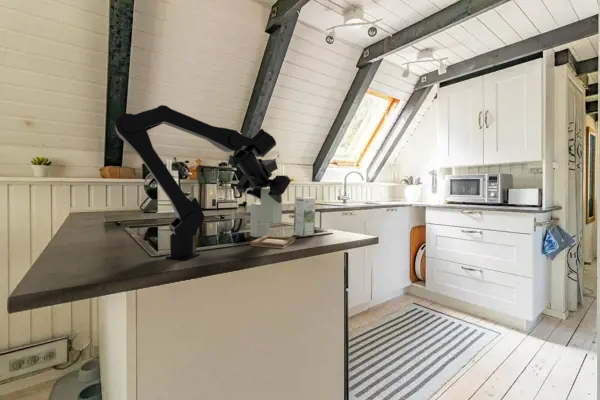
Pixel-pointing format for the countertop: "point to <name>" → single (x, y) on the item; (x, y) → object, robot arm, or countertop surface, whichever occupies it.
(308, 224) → the syrup box
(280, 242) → the groove board
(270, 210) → the pale green tall block
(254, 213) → the skincare box
